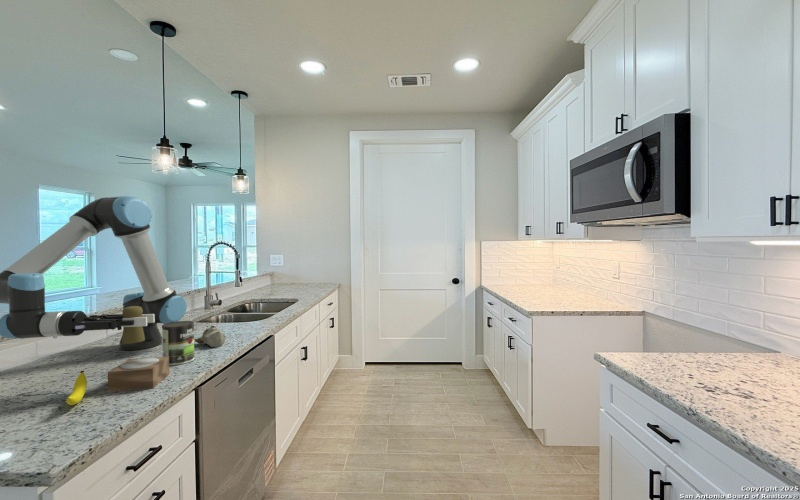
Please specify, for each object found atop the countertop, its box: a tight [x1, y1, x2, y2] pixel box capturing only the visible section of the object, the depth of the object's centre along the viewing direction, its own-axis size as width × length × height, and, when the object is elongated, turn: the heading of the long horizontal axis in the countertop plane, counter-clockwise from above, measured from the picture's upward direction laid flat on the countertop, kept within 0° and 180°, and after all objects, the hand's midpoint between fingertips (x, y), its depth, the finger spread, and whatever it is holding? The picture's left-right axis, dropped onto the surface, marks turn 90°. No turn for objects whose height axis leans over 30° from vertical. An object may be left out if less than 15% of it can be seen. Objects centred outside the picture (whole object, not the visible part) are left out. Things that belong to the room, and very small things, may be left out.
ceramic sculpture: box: [194, 325, 227, 348], centre depth 156 cm, size 11×9×15 cm
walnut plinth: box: [107, 356, 171, 393], centre depth 115 cm, size 12×12×6 cm
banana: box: [65, 370, 88, 406], centre depth 100 cm, size 3×19×6 cm, turn 34°
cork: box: [121, 306, 145, 344], centre depth 114 cm, size 6×6×11 cm
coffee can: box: [161, 320, 196, 366], centre depth 135 cm, size 10×10×14 cm
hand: (150, 319), depth 114 cm, fingers closed on cork, 4 cm apart
